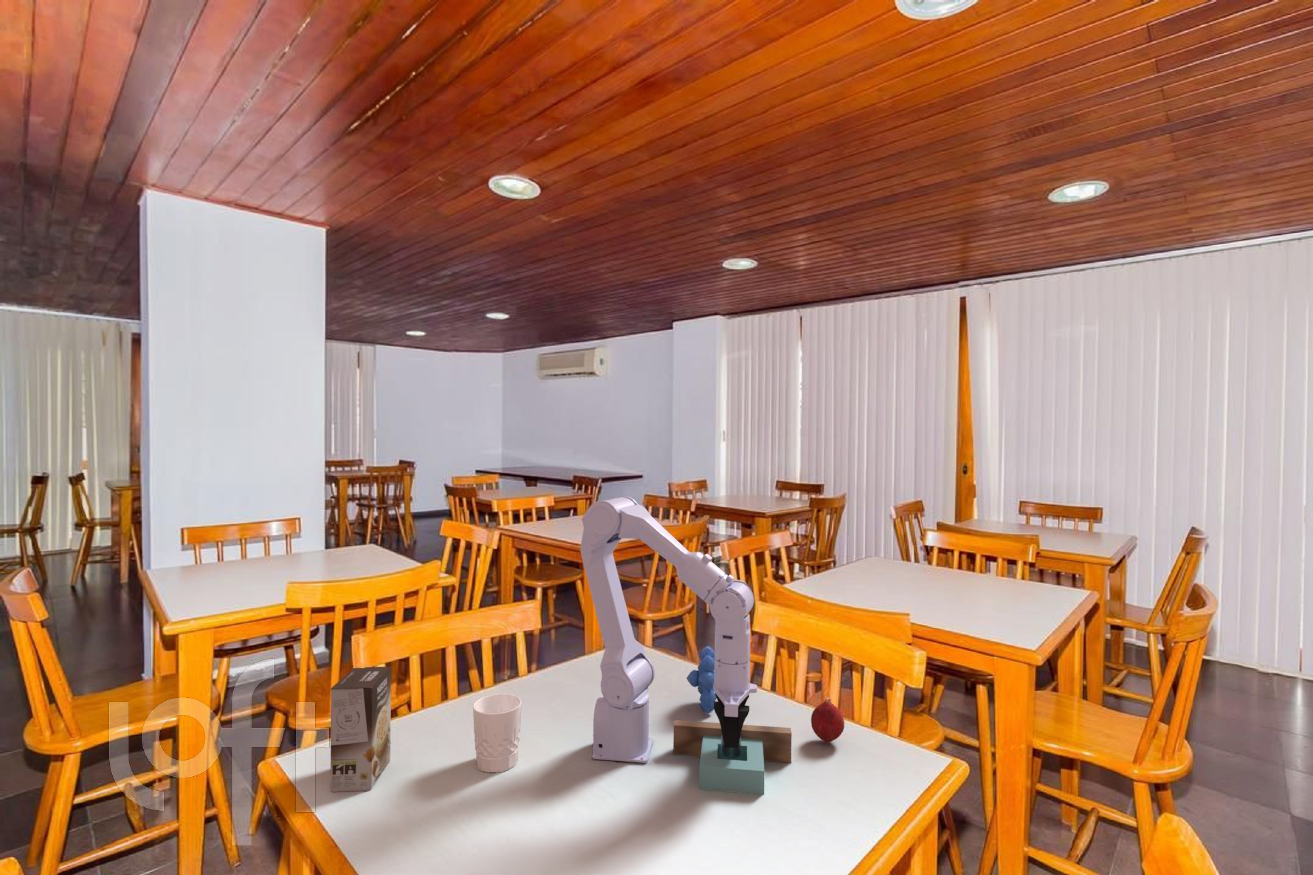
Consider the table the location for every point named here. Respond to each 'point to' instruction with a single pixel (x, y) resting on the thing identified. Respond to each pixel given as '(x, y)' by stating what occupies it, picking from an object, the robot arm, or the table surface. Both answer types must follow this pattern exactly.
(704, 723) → the wall
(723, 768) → the block
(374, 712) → the coffee box
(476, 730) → the white cup
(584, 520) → the robot arm
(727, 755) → the dowel
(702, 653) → the grapes
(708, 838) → the table surface
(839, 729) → the onion
